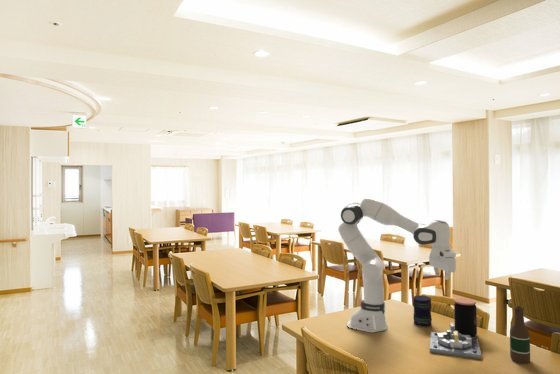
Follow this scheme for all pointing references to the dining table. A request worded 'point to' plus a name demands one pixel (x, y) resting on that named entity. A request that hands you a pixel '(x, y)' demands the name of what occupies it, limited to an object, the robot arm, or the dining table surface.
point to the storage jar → (422, 311)
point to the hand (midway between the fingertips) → (441, 277)
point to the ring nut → (454, 343)
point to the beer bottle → (519, 338)
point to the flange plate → (464, 352)
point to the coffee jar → (465, 316)
